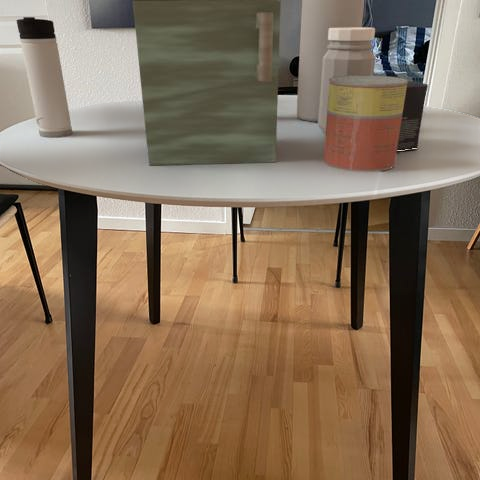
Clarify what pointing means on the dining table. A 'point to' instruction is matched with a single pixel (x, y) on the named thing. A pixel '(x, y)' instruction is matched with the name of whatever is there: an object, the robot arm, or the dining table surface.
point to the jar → (345, 60)
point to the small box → (412, 115)
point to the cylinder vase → (320, 46)
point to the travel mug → (45, 76)
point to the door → (209, 80)
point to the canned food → (363, 122)
